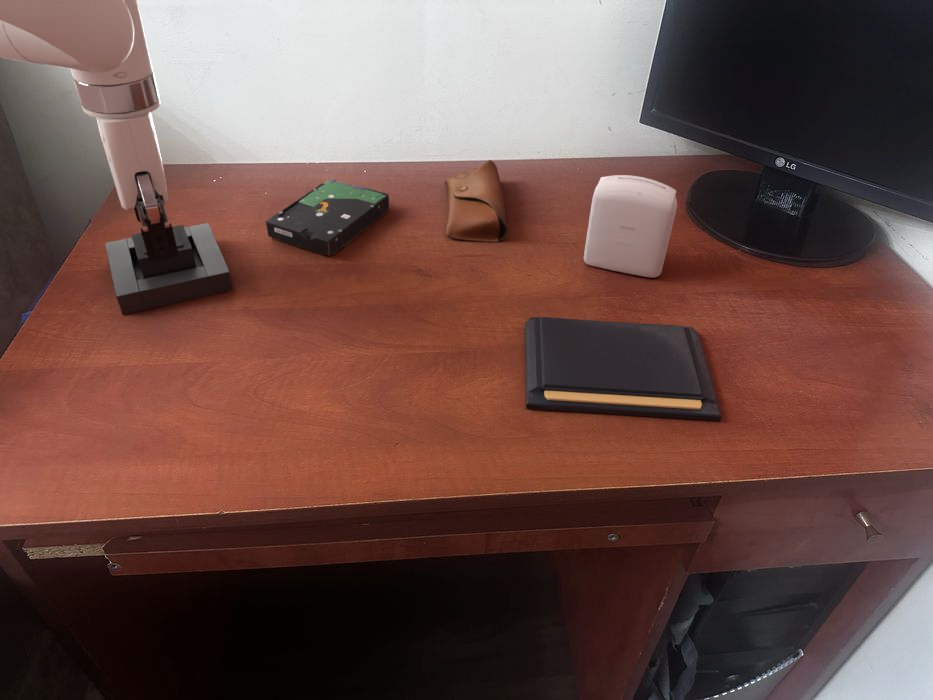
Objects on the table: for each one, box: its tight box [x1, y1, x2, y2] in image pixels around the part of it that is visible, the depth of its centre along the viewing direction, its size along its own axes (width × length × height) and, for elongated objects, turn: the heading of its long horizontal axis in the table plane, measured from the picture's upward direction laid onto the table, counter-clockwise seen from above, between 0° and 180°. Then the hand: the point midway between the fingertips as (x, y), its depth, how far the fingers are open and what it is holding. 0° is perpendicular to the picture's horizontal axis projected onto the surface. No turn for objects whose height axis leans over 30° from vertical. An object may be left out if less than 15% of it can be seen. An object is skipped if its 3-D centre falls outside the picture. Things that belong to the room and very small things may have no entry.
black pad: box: [131, 224, 197, 279], centre depth 85 cm, size 6×6×4 cm
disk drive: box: [265, 178, 390, 257], centre depth 97 cm, size 10×3×15 cm
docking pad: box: [104, 222, 234, 316], centre depth 86 cm, size 12×12×3 cm
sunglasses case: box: [444, 159, 508, 243], centre depth 102 cm, size 18×7×7 cm, turn 3°
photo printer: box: [583, 174, 678, 279], centre depth 88 cm, size 10×4×12 cm, turn 70°
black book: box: [523, 316, 723, 422], centre depth 76 cm, size 20×2×15 cm
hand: (157, 237), depth 83 cm, fingers open, 9 cm apart
